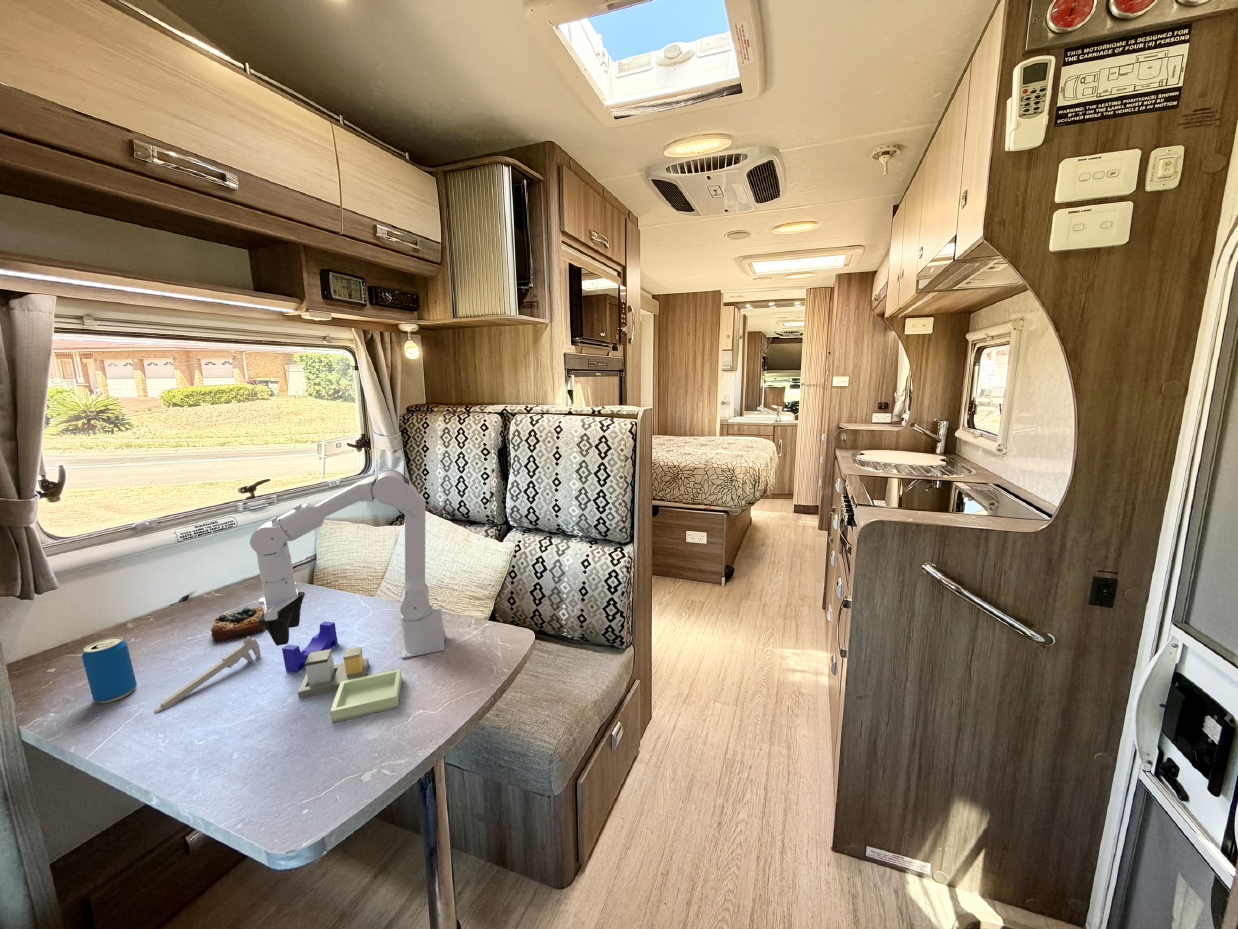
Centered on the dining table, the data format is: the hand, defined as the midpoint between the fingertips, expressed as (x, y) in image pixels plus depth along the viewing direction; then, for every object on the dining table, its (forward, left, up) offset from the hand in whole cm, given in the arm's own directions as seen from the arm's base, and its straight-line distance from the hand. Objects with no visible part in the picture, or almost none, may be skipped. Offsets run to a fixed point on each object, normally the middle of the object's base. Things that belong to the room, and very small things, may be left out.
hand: (288, 635), depth 104 cm
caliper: (+17, -4, -10) cm, 20 cm away
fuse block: (-9, +6, -10) cm, 15 cm away
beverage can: (+35, -7, -10) cm, 37 cm away
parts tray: (-17, +16, -10) cm, 25 cm away
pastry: (+20, -29, -10) cm, 37 cm away
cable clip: (-1, -7, -10) cm, 13 cm away
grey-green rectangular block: (-7, +6, -10) cm, 13 cm away
